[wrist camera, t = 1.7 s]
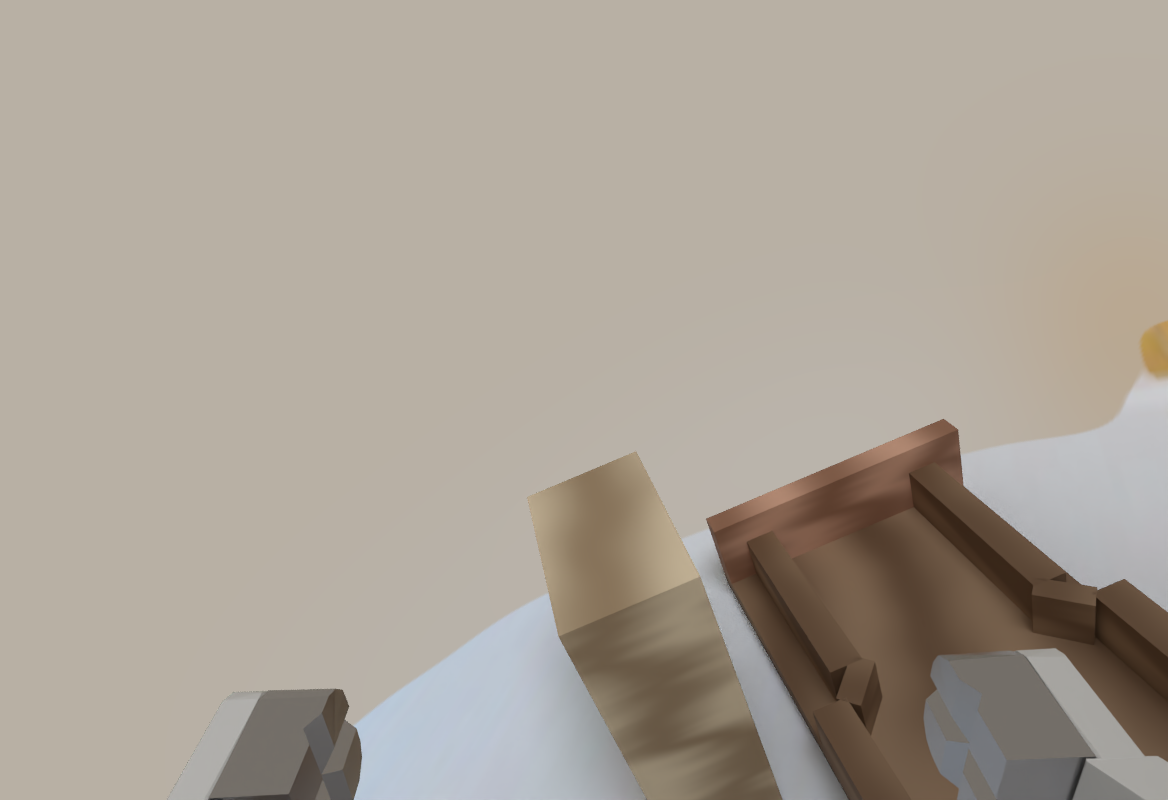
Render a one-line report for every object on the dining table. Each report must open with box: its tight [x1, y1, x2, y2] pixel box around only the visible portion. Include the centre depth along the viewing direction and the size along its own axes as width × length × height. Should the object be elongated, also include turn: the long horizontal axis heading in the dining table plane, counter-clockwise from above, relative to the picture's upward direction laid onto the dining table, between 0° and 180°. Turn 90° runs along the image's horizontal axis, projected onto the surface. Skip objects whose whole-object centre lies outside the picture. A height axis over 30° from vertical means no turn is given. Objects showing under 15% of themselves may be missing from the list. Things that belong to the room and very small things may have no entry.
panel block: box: [527, 452, 782, 800], centre depth 30 cm, size 5×8×14 cm, turn 13°
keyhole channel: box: [706, 419, 1168, 800], centre depth 31 cm, size 14×21×5 cm, turn 13°
